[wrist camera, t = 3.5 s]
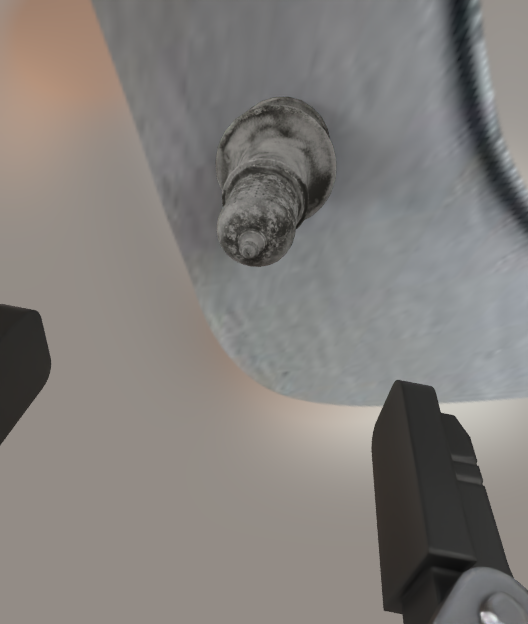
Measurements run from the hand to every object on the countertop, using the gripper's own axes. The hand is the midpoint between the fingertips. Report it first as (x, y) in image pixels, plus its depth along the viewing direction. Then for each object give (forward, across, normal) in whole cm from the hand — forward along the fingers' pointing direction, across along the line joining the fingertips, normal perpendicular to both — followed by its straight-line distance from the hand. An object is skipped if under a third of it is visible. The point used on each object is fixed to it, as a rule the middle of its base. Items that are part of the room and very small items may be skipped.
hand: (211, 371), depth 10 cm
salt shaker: (+18, 0, 0) cm, 18 cm away
